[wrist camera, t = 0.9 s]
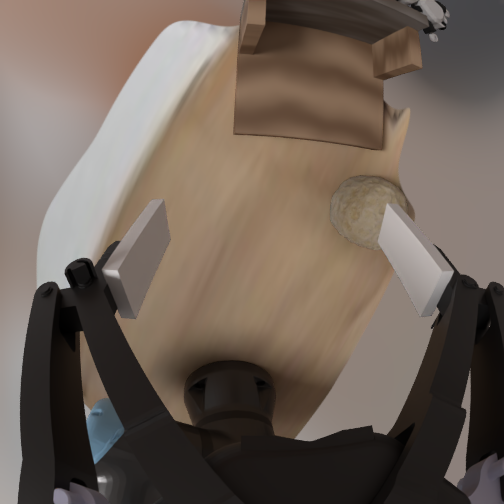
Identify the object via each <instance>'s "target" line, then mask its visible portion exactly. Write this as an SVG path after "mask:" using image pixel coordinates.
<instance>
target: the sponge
mask: <svg viewBox="0 0 504 504" xmlns="http://www.w3.org/2000/svg"><path fill="white" fill-rule="evenodd" d="M387 203H391V204H398V205H399V206H400V207H401V208H402V209H403V211H404V212H405V213H406V214H407V215H408V208H407V207H408V205H407V202H406V199H405V195H404V194H403V193H402V191H401V190H399V188H398V187H397V186H395V185H393V184H392V183H390V182H389V181H387V180H385V179H383V178H380V177H374V176H361V175H360V176H356V177H352V178H350V179H348V180H346V181H344V182H343V183H342V184H341V185H340V187H339V189H338V190H337V191H336V192H335V194H334V195H333V197H332V200H331V205H330V220H331V222H332V224H333V226H334V227H335V228H336V229H337V230H338V232H339V234H340V235H343V236H344V237H345V238H346V239H347V240H349V241H350V242H352V243H355V244H357V245H358V246H362V247H366V248H368V249H372V250H380V249H382V248H381V247H380V245H379V244H378V238H379V234H380V230H381V226H382V222H383V218H384V214H385V210H386V205H387Z"/></svg>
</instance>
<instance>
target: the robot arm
mask: <svg viewBox="0 0 504 504" xmlns="http://www.w3.org/2000/svg"><path fill="white" fill-rule="evenodd" d="M170 240H171V239H170V233H169V227H168V221H167V215H166V208H165V202H164V199H152V200H151V201H150V203H149V204H148V205H147V206H146V208H145V209H144V210H143V212H142V213H141V214H140V216H139V217H138V218H137V220H136V221H135V222H134V224H133V225H132V226H131V228H130V229H129V231H128V232H127V233H126V235H125V236H124V238H123V239H122V240H121V241H115V242H114V243H113V244H111V245H110V246H109V247H108V248H107V250H106V251H105V252H104V254H103V255H102V257H101V259H100V260H99V261H98V262H97V264H96V265H95V267H94V266H93V263H92V261H91V260H90V259H88V258H81V259H77V260H75V261H73V262H71V263H70V264H69V265H68V266H67V267H66V269H65V276H66V278H67V280H68V282H69V284H70V287H71V288H66V289H61V290H60V289H59V287H58V285H57V284H56V282H47V283H44V284H42V285H41V286H40V287H39V288H38V289H37V290H36V293H35V295H34V299H33V303H32V308H31V313H30V318H29V324H28V328H27V334H26V342H25V348H24V356H23V366H22V376H21V394H20V395H21V396H20V431H21V446H22V457H23V461H22V468H21V474H20V482H19V492H18V504H504V288H503V286H502V285H500V284H499V283H496V282H490V284H489V285H488V287H487V289H483V288H479V287H478V284H477V282H476V281H475V280H474V279H472V278H471V277H469V276H467V275H460V273H459V272H458V271H457V270H456V268H455V267H454V265H453V264H452V263H451V262H450V261H449V259H448V258H447V257H446V256H445V254H444V253H443V252H442V250H441V249H439V248H438V247H437V246H436V245H434V244H432V242H431V241H430V240H429V239H428V238H427V236H426V235H425V234H424V233H423V232H422V231H421V229H420V228H419V227H418V226H417V225H416V224H415V223H414V222H413V220H412V219H411V218H410V217H409V216H408V215H407V214H406V213H405V212H404V211H403V209H402V208H401V207H400V206H399V205H398V204H391V203H387V205H386V210H385V214H384V218H383V222H382V226H381V230H380V234H379V238H378V244H379V245H380V247H381V248H382V250H383V252H384V253H385V255H386V257H387V258H388V260H389V262H390V263H391V265H392V267H393V268H394V270H395V272H396V274H397V275H398V277H399V279H400V281H401V282H402V284H403V286H404V288H405V290H406V291H407V293H408V295H409V297H410V299H411V301H412V303H413V305H414V307H415V309H416V310H417V312H418V314H419V316H420V317H426V316H432V314H433V312H434V311H435V309H436V307H437V308H438V309H439V311H440V313H439V314H438V316H437V318H436V320H435V321H434V323H433V325H432V327H431V329H432V328H433V327H434V329H433V332H432V335H431V338H430V341H429V344H428V347H427V350H426V353H425V356H424V359H423V361H422V364H421V367H420V369H419V372H418V375H417V377H416V379H415V382H414V384H413V386H412V389H411V391H410V394H409V396H408V398H407V400H406V402H405V405H404V406H403V409H402V411H401V413H400V415H399V417H398V419H397V421H396V423H395V425H394V426H393V428H392V429H391V430H390V432H389V433H388V434H387V435H384V434H380V433H374V432H373V428H372V425H371V426H366V427H360V428H354V429H348V430H342V431H339V432H337V433H334V434H331V435H329V436H326V437H323V438H320V439H317V440H315V441H302V440H296V439H290V438H285V437H279V436H275V435H274V431H273V426H272V417H273V411H274V405H275V399H276V392H275V388H274V384H273V381H272V378H271V377H270V375H269V374H268V373H267V372H266V371H265V370H263V369H262V368H260V367H258V366H256V365H253V364H250V363H246V362H241V361H222V362H216V363H212V364H208V365H206V366H203V367H201V368H199V369H198V370H196V371H195V372H194V373H192V374H191V375H190V377H189V378H188V379H187V381H186V383H185V388H184V402H185V406H186V408H187V411H188V413H189V416H190V419H191V421H192V424H193V426H192V425H189V424H185V423H182V422H178V421H175V420H174V419H173V417H172V416H171V414H170V413H169V411H168V410H167V408H166V407H165V405H164V404H163V402H162V401H161V399H160V398H159V396H158V395H157V393H156V391H155V390H154V388H153V387H152V385H151V383H150V382H149V380H148V378H147V377H146V375H145V373H144V371H143V370H142V368H141V366H140V364H139V363H138V361H137V359H136V357H135V355H134V354H133V352H132V350H131V348H130V346H129V344H128V342H127V340H126V338H125V336H124V334H123V332H122V330H121V328H120V326H119V324H118V322H117V320H116V318H115V316H114V315H115V313H116V310H117V309H118V312H119V314H120V316H121V318H129V319H136V318H137V315H138V313H139V310H140V308H141V305H142V303H143V300H144V298H145V296H146V293H147V291H148V289H149V286H150V284H151V282H152V279H153V277H154V275H155V273H156V270H157V268H158V266H159V264H160V261H161V259H162V257H163V255H164V253H165V251H166V248H167V246H168V244H169V242H170ZM489 325H490V327H489ZM80 331H84V334H85V338H86V340H87V343H88V346H89V349H90V352H91V355H92V357H93V360H94V363H95V365H96V368H97V370H98V373H99V375H100V378H101V380H102V383H103V385H104V387H105V390H106V392H107V394H108V396H109V398H104V399H101V400H99V401H98V402H96V404H95V405H94V407H93V409H92V410H91V412H90V414H89V416H88V418H87V420H86V416H85V409H84V401H83V391H82V380H81V364H80ZM470 369H471V370H470ZM469 371H471V404H470V422H469V435H468V443H467V454H466V473H465V476H464V478H462V479H460V481H459V482H458V485H457V487H455V486H454V485H453V484H452V483H450V482H449V481H448V480H446V479H445V478H444V476H445V474H446V472H447V469H448V467H449V464H450V462H451V459H452V457H453V454H454V451H455V449H456V446H457V443H458V440H459V438H460V434H461V431H462V428H463V425H464V422H465V418H466V410H465V409H463V408H461V404H462V400H463V397H464V393H465V389H466V384H467V380H468V376H469Z"/></svg>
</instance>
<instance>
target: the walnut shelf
mask: <svg viewBox="0 0 504 504" xmlns="http://www.w3.org/2000/svg"><path fill="white" fill-rule="evenodd" d="M427 27H429V23H428V18H427V16H426V15H424V14H422V13H420V12H419V11H417V10H415V9H413V8H411V7H409V6H407V5H405V4H403V3H401V2H398V1H396V0H244V3H243V8H242V12H241V17H240V30H239V44H238V59H237V75H236V92H235V111H234V132H233V135H256V136H271V137H284V138H295V139H304V140H313V141H321V142H329V143H336V144H343V145H349V146H355V147H361V148H366V149H372V150H382V136H383V80H386V79H388V78H392V77H395V76H398V75H401V74H405V73H408V72H411V71H415V70H419V69H422V58H421V49H420V41H419V34H418V31H419V30H422V29H424V28H427Z"/></svg>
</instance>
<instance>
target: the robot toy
mask: <svg viewBox="0 0 504 504" xmlns="http://www.w3.org/2000/svg"><path fill="white" fill-rule="evenodd" d="M396 1H398V2H401V3H403V4H405V5H410V4H411V8H413V9H415V10H417V11H419V12H420V13H422V14H424V15H426V16H427V18H428V23H429V27H427V28H424V29H423V31H424V32H425V34H427V33H429V38H430V40H431V41H432V42H437V41H438V37H437V36H436V35H435V33H433V32H435V31H436V30H435V29H440V30H444V29H446V23H447V19H446V17H447V18H449V17H450V16H449V12H448V11H447V9H446V7H445V6H443V5H442V4H441V3H440V2H438V1H434V0H396Z"/></svg>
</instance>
